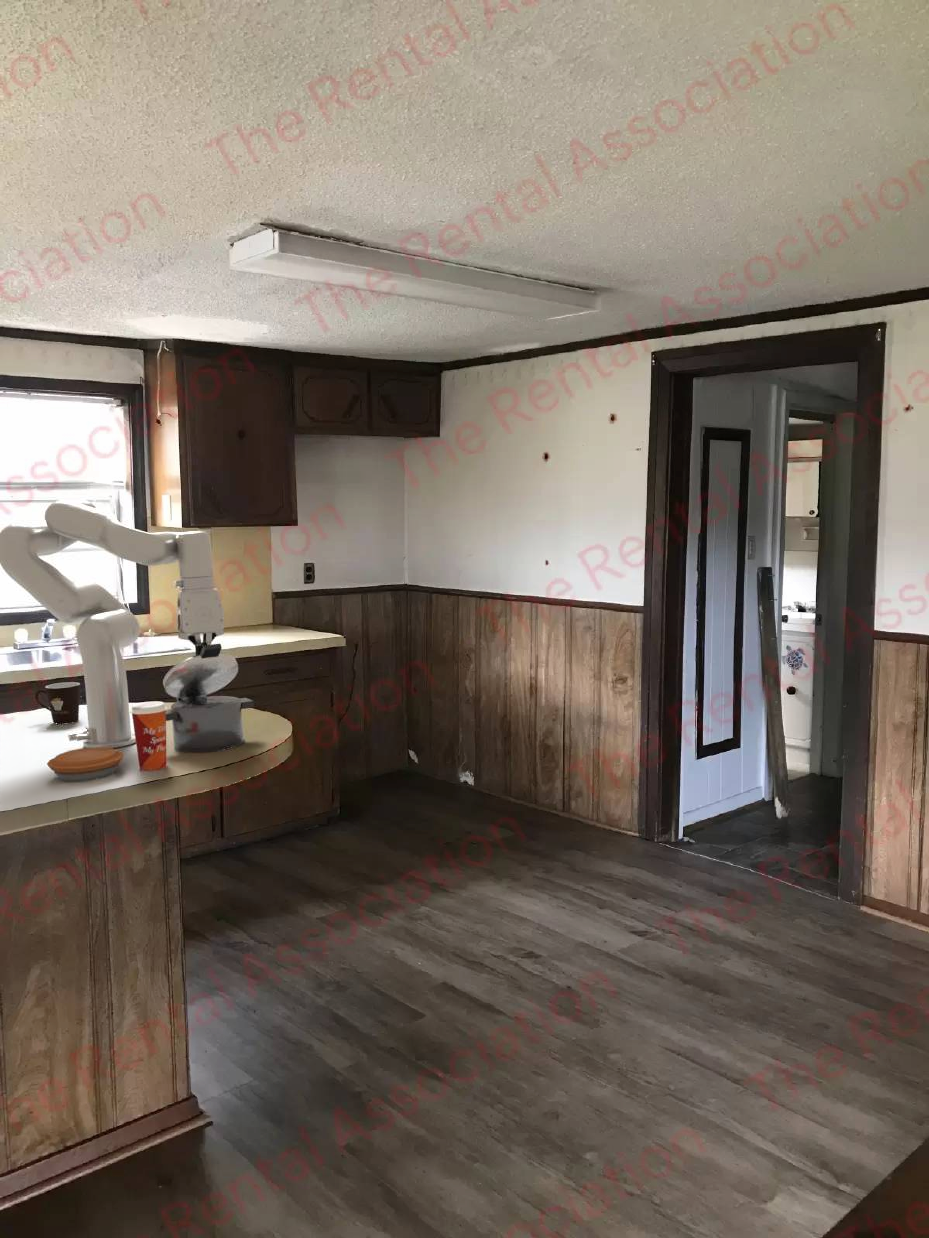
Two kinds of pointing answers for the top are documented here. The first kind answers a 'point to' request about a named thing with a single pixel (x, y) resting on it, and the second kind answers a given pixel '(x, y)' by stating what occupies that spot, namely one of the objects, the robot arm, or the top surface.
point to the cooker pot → (207, 723)
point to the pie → (85, 764)
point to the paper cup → (150, 734)
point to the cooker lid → (201, 673)
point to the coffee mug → (62, 701)
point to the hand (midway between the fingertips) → (203, 661)
